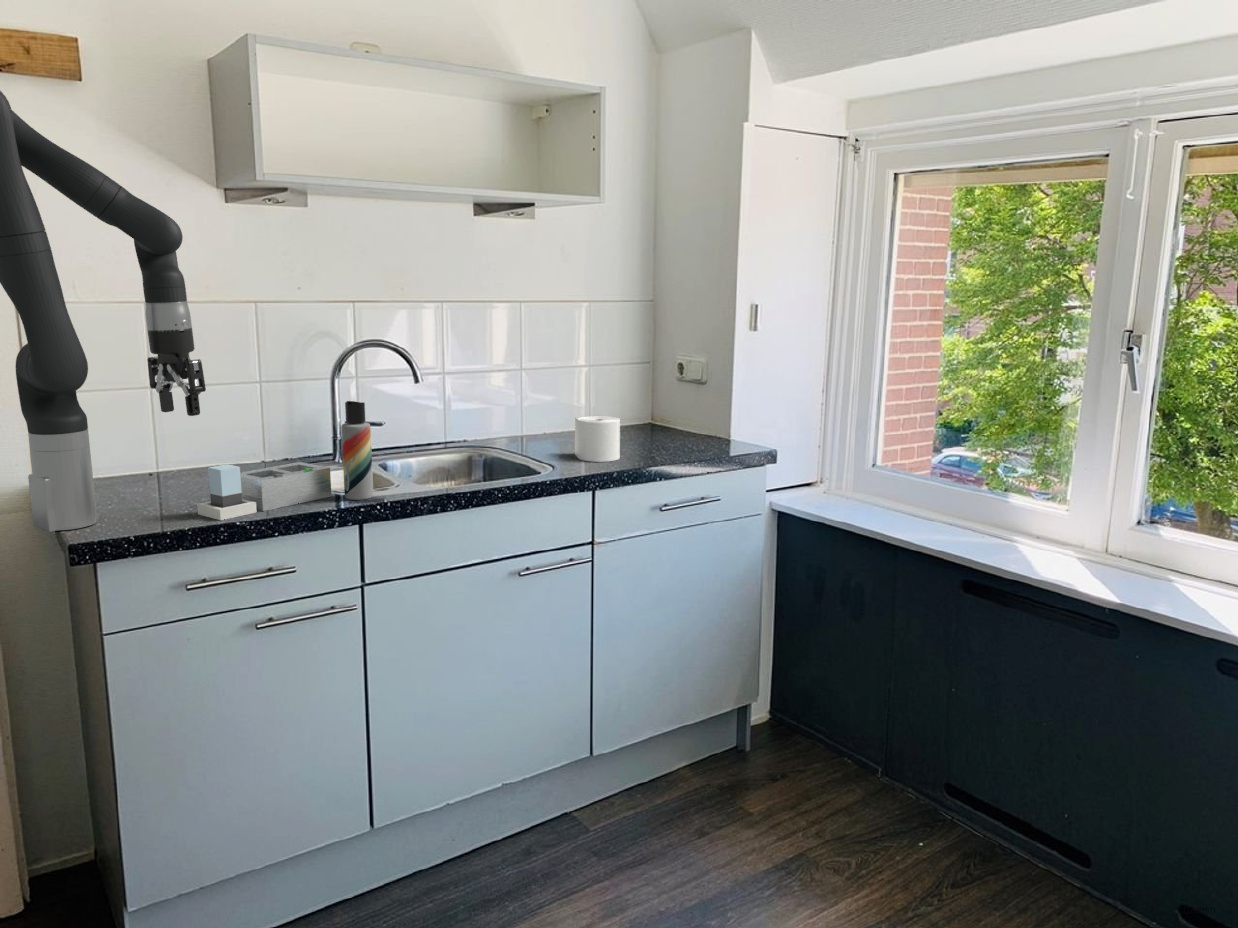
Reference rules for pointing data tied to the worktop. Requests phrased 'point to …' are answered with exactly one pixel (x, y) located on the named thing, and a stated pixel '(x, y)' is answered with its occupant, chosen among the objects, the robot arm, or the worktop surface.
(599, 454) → the toilet tissue
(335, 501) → the worktop surface
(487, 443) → the worktop surface
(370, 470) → the lotion bottle
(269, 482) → the two-compartment grey tray
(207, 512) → the white open box
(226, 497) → the light blue block
